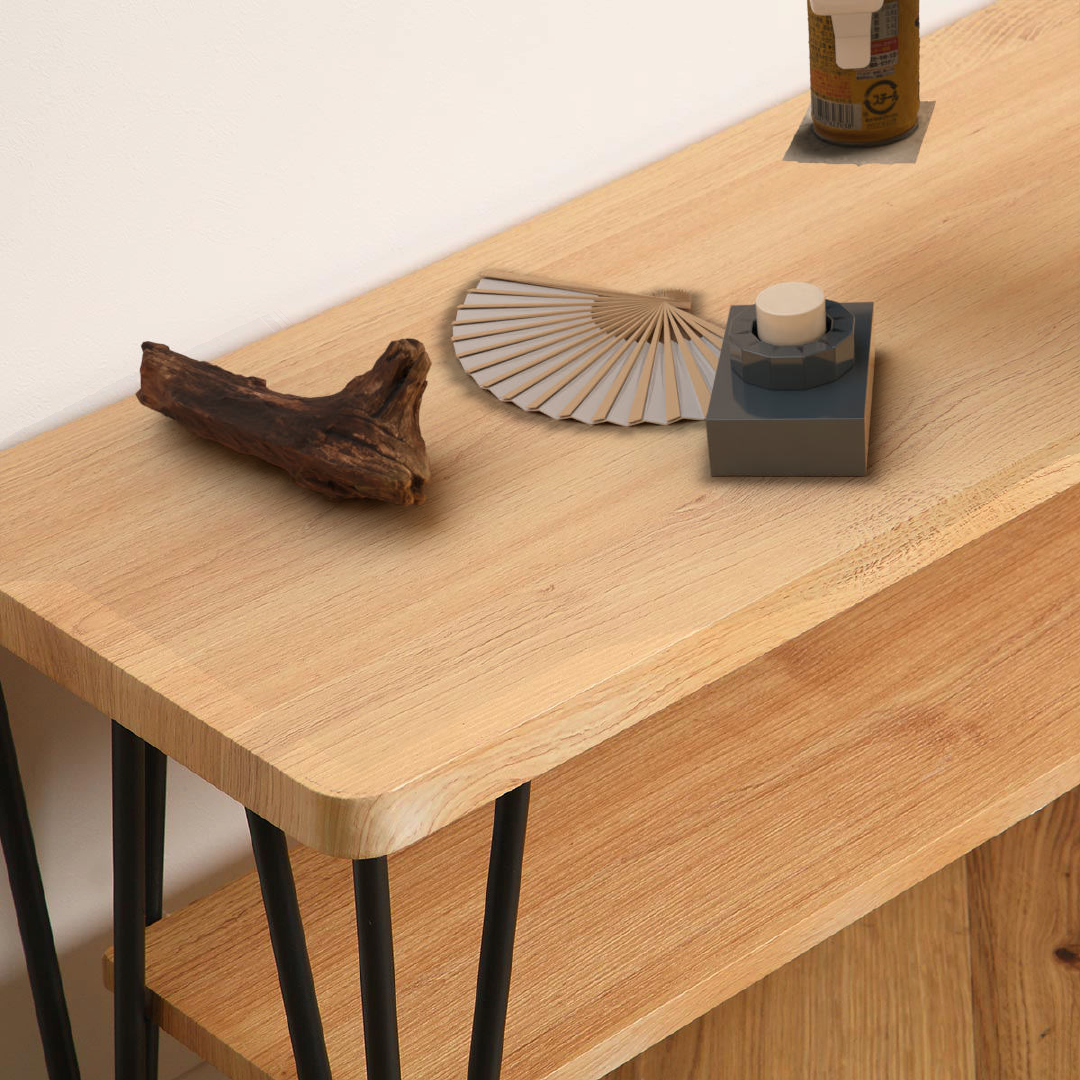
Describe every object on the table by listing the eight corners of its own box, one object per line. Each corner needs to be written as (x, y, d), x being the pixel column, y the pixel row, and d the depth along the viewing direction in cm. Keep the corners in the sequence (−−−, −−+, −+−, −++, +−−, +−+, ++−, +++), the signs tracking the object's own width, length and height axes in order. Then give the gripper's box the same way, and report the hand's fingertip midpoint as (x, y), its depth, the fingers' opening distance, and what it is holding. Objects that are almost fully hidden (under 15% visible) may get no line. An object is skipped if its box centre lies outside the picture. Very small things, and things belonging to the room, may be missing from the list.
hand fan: (529, 253, 109) (366, 352, 101) (527, 242, 109) (364, 341, 101) (862, 351, 93) (700, 479, 85) (862, 339, 93) (699, 466, 85)
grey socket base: (874, 355, 92) (873, 269, 89) (866, 476, 83) (863, 384, 80) (734, 358, 94) (728, 273, 91) (710, 476, 85) (702, 386, 82)
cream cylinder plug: (828, 314, 87) (827, 280, 85) (824, 348, 84) (822, 313, 83) (760, 315, 88) (758, 281, 86) (754, 350, 85) (752, 315, 84)
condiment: (935, 104, 94) (936, -110, 87) (915, 166, 88) (914, -59, 81) (810, 105, 96) (801, -103, 89) (782, 166, 90) (769, -53, 83)
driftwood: (497, 468, 88) (473, 339, 84) (409, 551, 83) (378, 418, 79) (194, 393, 100) (159, 276, 95) (101, 463, 95) (58, 342, 90)
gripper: (912, -184, 73) (911, 110, 81) (919, -280, 89) (918, -26, 97) (771, -171, 74) (784, 116, 82) (803, -268, 90) (811, -19, 98)
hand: (857, 38), depth 90 cm, fingers closed on condiment, 6 cm apart
